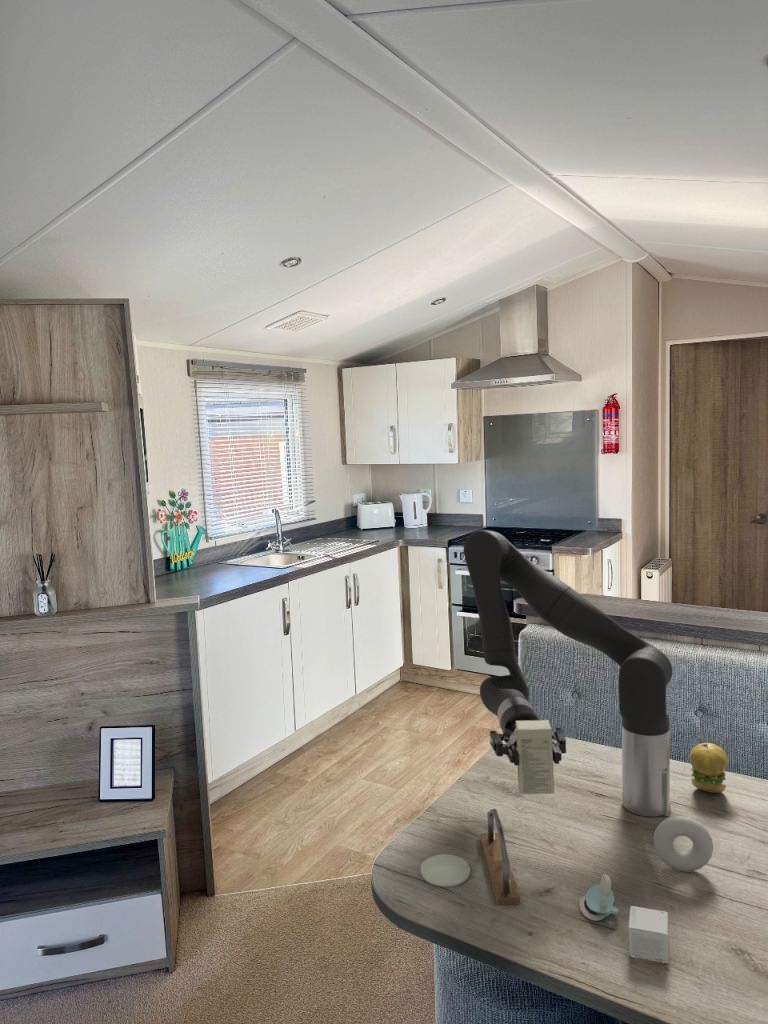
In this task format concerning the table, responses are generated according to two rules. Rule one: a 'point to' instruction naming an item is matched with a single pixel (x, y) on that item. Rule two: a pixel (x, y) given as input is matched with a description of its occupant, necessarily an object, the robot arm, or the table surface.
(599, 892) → the pacifier
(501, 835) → the wood and metal stand
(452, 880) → the glossy white rounded disc
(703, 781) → the hamburger
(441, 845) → the table surface
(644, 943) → the small box
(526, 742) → the skincare box
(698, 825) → the donut
